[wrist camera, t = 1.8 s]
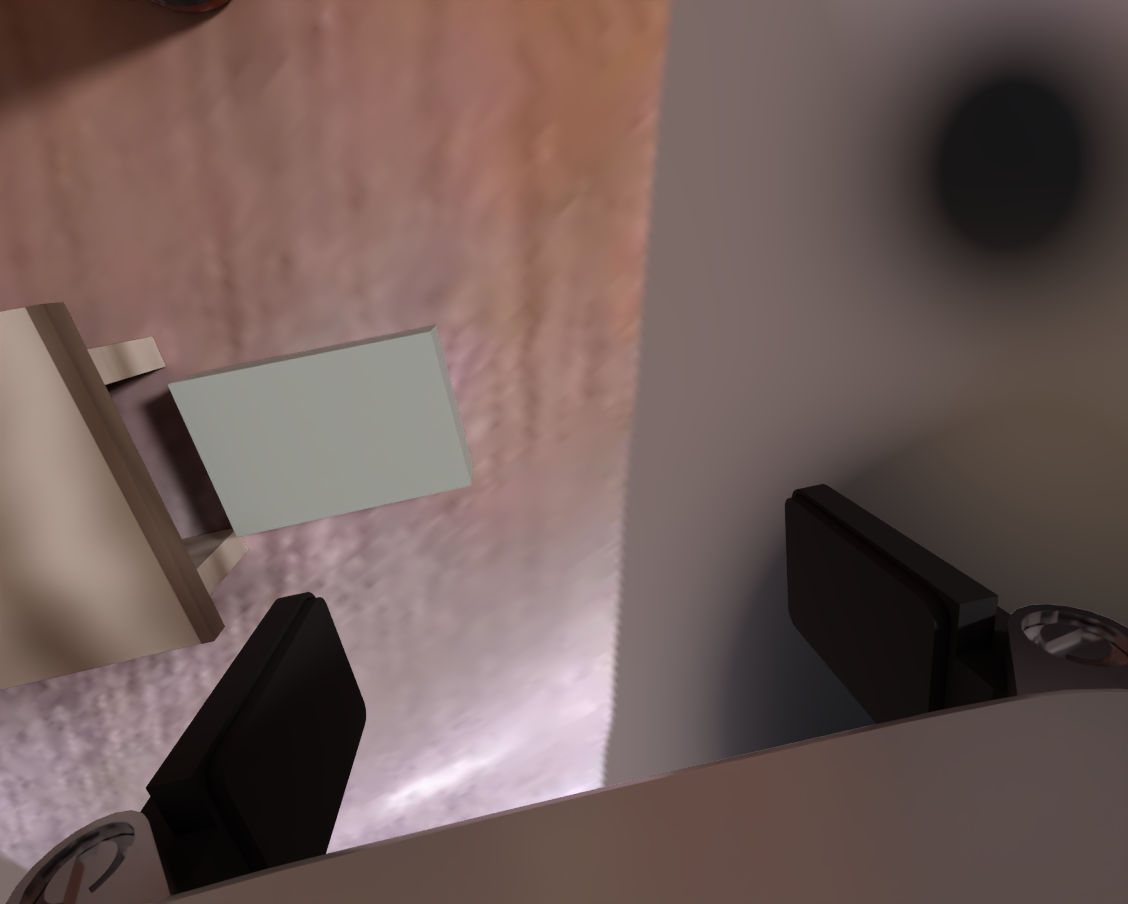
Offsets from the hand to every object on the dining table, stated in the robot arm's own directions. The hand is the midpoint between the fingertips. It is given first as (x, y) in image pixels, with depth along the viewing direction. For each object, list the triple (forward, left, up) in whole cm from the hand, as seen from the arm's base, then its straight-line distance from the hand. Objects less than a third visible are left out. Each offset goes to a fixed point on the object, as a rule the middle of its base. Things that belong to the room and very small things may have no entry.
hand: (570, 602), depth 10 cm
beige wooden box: (0, -23, -20) cm, 30 cm away
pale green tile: (0, -10, -20) cm, 22 cm away
